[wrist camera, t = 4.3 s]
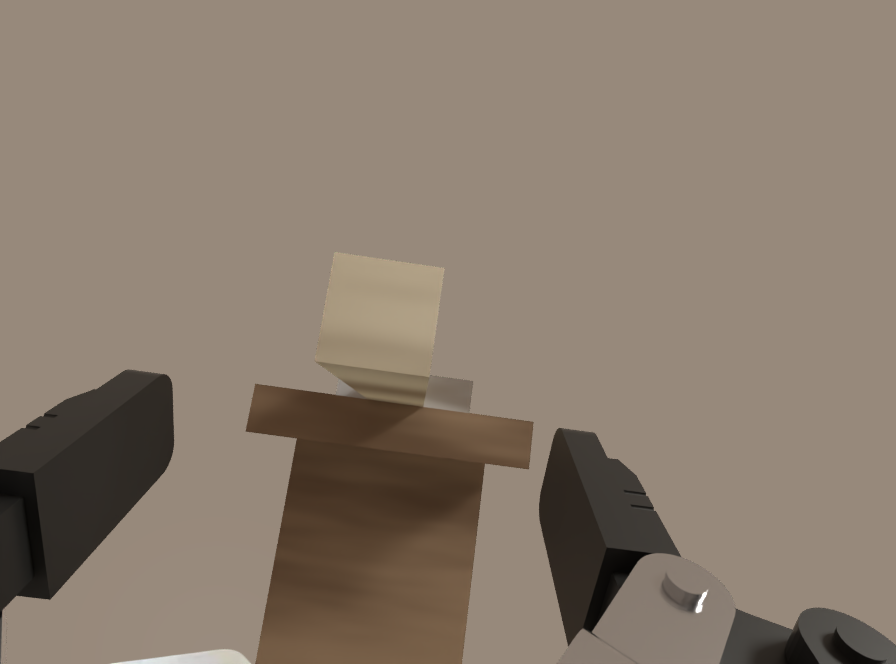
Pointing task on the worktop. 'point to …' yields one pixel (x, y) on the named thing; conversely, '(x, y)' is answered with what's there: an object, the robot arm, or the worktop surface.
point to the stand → (376, 526)
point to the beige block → (386, 333)
